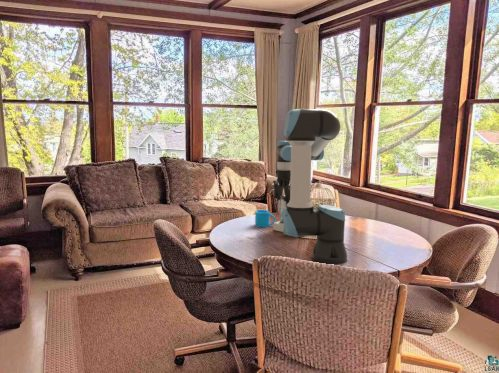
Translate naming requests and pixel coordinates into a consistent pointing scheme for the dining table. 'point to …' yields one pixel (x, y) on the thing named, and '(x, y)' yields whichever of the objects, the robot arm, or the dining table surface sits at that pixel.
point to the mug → (263, 218)
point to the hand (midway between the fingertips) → (283, 211)
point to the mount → (279, 226)
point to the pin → (281, 207)
